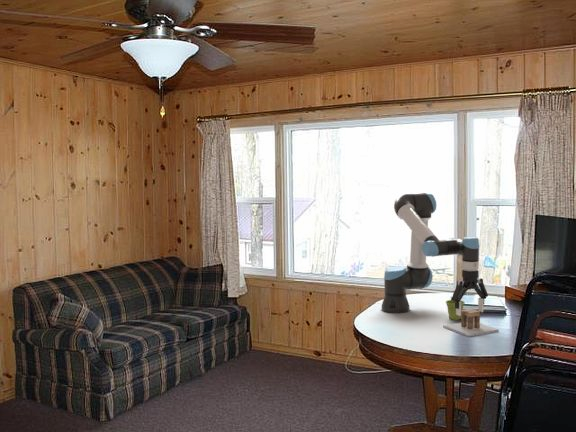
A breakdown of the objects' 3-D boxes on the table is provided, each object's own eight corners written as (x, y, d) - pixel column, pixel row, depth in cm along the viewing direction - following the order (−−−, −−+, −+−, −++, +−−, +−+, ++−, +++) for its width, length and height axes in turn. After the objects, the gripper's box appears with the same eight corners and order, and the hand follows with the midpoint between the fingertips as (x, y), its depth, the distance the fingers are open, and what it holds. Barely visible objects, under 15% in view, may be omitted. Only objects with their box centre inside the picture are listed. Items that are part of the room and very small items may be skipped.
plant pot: (465, 321, 288) (465, 304, 288) (446, 320, 290) (446, 303, 290) (463, 316, 298) (463, 300, 297) (445, 315, 299) (445, 299, 299)
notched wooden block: (461, 326, 275) (461, 310, 275) (471, 324, 278) (471, 308, 277) (469, 329, 270) (469, 312, 269) (479, 327, 272) (479, 311, 271)
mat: (442, 327, 278) (442, 325, 278) (471, 322, 286) (471, 320, 286) (468, 336, 262) (468, 334, 262) (498, 331, 269) (498, 329, 269)
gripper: (454, 273, 263) (454, 318, 265) (496, 268, 273) (495, 311, 275) (444, 270, 270) (443, 314, 272) (484, 265, 280) (484, 308, 282)
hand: (469, 313), depth 274 cm, fingers open, 13 cm apart
